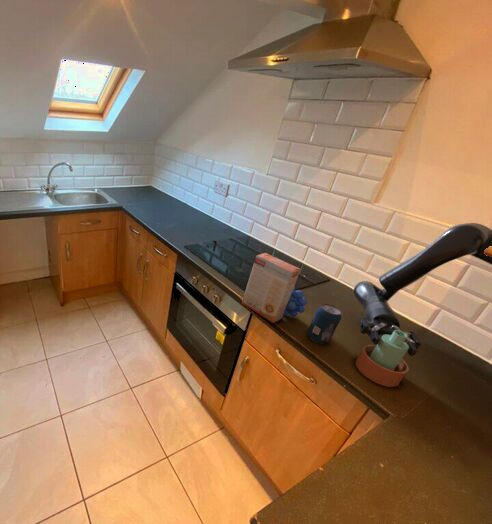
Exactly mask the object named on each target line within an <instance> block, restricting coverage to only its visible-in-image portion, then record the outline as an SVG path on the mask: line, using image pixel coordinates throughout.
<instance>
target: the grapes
mask: <svg viewBox="0 0 492 524" xmlns="http://www.w3.org/2000/svg"><path fill="white" fill-rule="evenodd" d="M307 304H308V301H307V299H306V298H305V297H304V293H303V291H302V290H300V289H297V290H296V289H295V287H294V288H293V291H292V293H291V296H290V299H289V301H288V304H287V306H286V309H285V311H284V314H283V316H284V317H285V316H291V317H294V318H295V317H297V316H298V314H303V313H304V312H305V306H306V305H307Z"/></svg>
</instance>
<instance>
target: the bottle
mask: <svg viewBox="0 0 492 524" xmlns="http://www.w3.org/2000/svg"><path fill="white" fill-rule="evenodd" d="M406 338H407V335H406V334H405V333H403V332H401V331H398V330H394V332H393V333H392V335H387V334H386V335H383V336H381V337H380V341H379V342H378V344H377V345H376V344H375V345H376V347H375V349H374V350H373V352H372V354H371V355H370V357H369V358H370V359H372V360H373V361H374V362H375V363H377V364H378V365H380V366H382V367H384V368H386V369H389V370H392V371H394V369H395V368H396V367H397V365H398V364H399V362H400V361H401V359H403V358H404V356H405V355H406V354H407V353H408V352H407V350H408V349H409V346H408V345H407V342H406V341H407V340H406ZM404 341H405V342H404Z"/></svg>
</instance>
